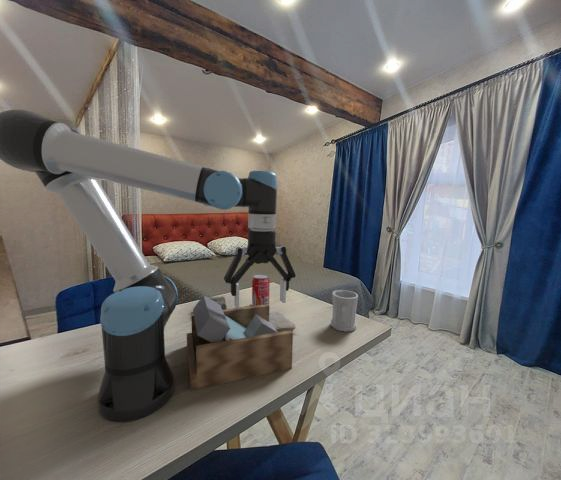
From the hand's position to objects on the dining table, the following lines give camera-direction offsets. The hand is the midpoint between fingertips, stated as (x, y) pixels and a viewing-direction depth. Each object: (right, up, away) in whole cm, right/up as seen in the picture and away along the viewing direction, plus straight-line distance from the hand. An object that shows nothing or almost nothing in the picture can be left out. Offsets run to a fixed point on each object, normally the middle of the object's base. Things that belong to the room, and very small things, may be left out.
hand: (260, 304), depth 77 cm
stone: (+4, -13, +21) cm, 24 cm away
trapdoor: (-8, -10, -2) cm, 13 cm away
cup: (+28, -13, +19) cm, 36 cm away
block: (-2, -11, +1) cm, 11 cm away
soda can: (-3, -10, +36) cm, 38 cm away
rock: (-20, -10, +30) cm, 38 cm away
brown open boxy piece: (-7, -15, 0) cm, 16 cm away
